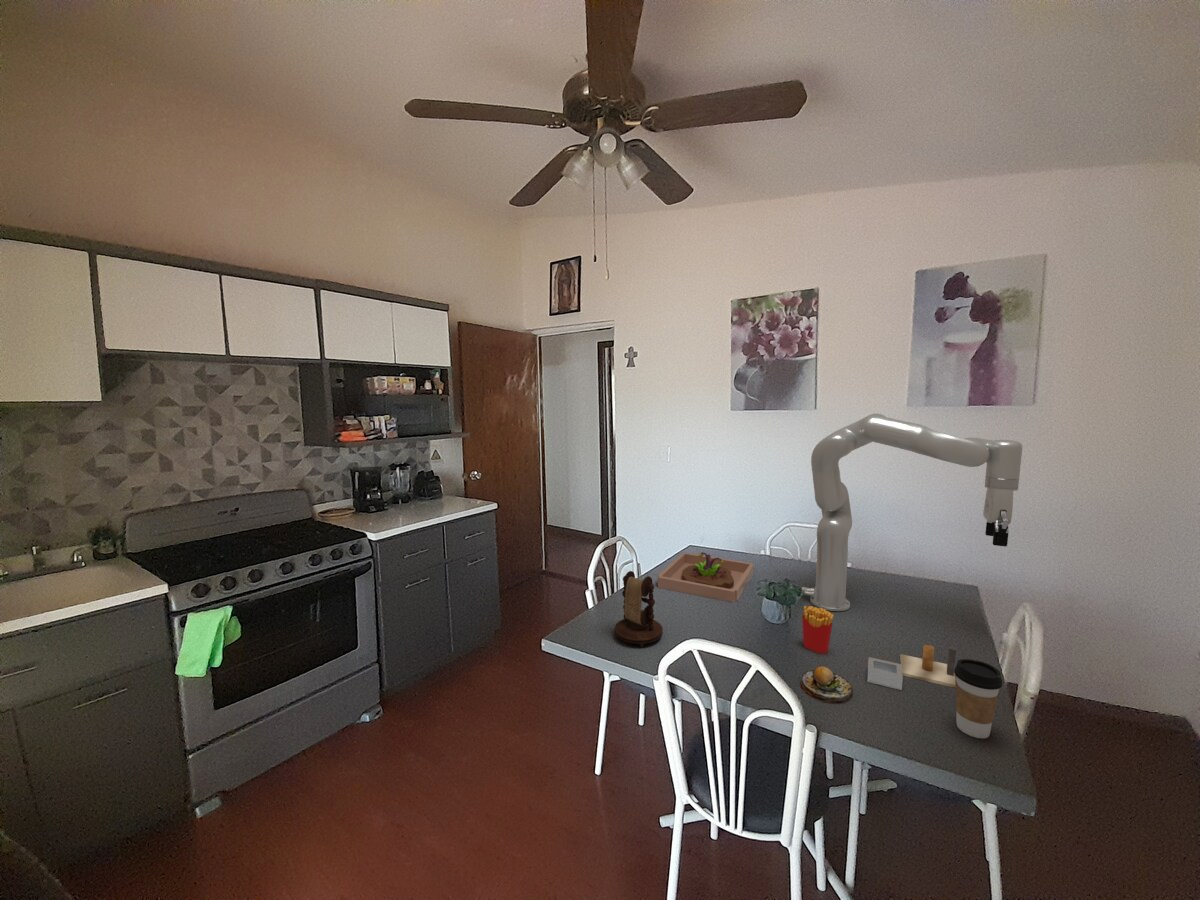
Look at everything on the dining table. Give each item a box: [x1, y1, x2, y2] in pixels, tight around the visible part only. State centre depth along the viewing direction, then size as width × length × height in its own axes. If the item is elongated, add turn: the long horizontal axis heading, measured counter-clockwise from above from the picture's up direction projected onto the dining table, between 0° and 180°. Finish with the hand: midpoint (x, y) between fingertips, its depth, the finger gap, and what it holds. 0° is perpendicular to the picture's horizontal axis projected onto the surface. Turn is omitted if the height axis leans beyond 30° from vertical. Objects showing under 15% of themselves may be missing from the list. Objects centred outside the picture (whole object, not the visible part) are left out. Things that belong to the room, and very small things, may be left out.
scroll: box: [614, 570, 664, 648], centre depth 151 cm, size 15×15×20 cm
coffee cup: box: [954, 658, 1003, 739], centre depth 109 cm, size 8×8×15 cm
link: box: [867, 656, 904, 691], centre depth 128 cm, size 8×6×4 cm
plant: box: [682, 551, 734, 588], centre depth 193 cm, size 20×20×11 cm
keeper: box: [899, 644, 957, 689], centre depth 131 cm, size 12×10×8 cm
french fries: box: [801, 605, 834, 654], centre depth 143 cm, size 8×4×12 cm, turn 42°
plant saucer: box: [657, 552, 755, 603], centre depth 194 cm, size 30×30×4 cm
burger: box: [800, 665, 854, 705], centre depth 125 cm, size 12×12×8 cm
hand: (995, 540), depth 144 cm, fingers open, 9 cm apart
